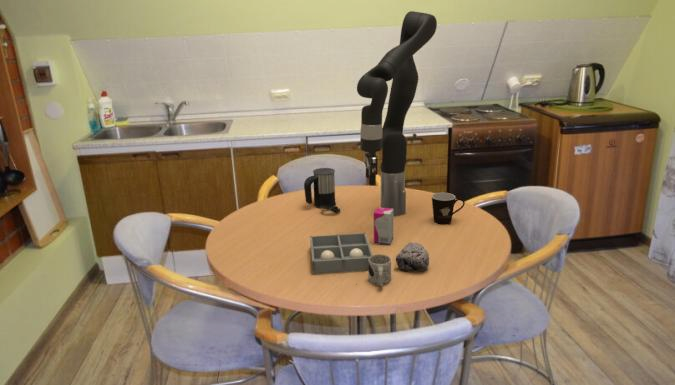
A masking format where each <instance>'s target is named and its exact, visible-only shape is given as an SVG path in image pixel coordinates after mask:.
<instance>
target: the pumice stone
mask: <svg viewBox="0 0 675 385" xmlns="http://www.w3.org/2000/svg"><path fill="white" fill-rule="evenodd" d="M395 262H396V265H397V266H398V267H399V268H400V269H401V270H403V271H406V272H414V271H426V270H427V269H428V267H429V265H430V257H429V252H428V251H427V249H426V248H425V247H424V246H423V244H421V243H419V242H412V241H409V242H408V243H407V244H406V245H404V247H403V248H402V249H401V251H400V252H398V254H396V256H395Z"/></svg>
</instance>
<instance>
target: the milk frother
mask: <svg viewBox="0 0 675 385" xmlns="http://www.w3.org/2000/svg"><path fill="white" fill-rule="evenodd" d="M335 172H336V171H335V169H334V168H331V167H320V168H315V169H313V170H312V173H313V175H311V176H308V177H307V178H306V179H305V180H304V183H303V188H304V196H305V197H304V198H305V203H307V204H309V205H311V204H313V205H314V207H316V208H318V209H324V210H328V211H331V212H332V213H335V214H337V213H338V212H341V208H340V207H338V205H337V202H336V190H335V189H336V188H335V186H336V184H335V181H336V180H335V179H336V178H335ZM312 184H313V196H312ZM336 205H337V206H336Z"/></svg>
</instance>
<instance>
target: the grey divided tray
mask: <svg viewBox="0 0 675 385" xmlns="http://www.w3.org/2000/svg"><path fill="white" fill-rule="evenodd" d="M309 238H310V239H309V240H310V242H309V243H310V253H311V265H312V266H311V267H312V274H313V275H321V274H336V273H350V272H351V273H352V272H365V271H366V272H367V271H368V259H369V257H370V256H372V255H374V254H373V250H372V247H371V245H370V243H369V239H368V236H367V234H366V232H359V233H357V232H354V233H342V234H341V233H340V234H338V233H337V234H327V235H323V234H322V235H310V237H309ZM355 248H358V249H360V250H361V251H362V252H363V257H360V258H350V257H349V254H350V251H351V250H352V249H355ZM326 250H329V251H332V252H333V254H334V257H335V258H334V259H331V260H321V254H322V252H324V251H326Z"/></svg>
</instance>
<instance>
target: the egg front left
mask: <svg viewBox="0 0 675 385" xmlns="http://www.w3.org/2000/svg"><path fill="white" fill-rule="evenodd" d="M349 257H350V258H360V257H363V252H362V251H361V250H360V249H358V248H355V249H352V250H351V251H350V254H349Z"/></svg>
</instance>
